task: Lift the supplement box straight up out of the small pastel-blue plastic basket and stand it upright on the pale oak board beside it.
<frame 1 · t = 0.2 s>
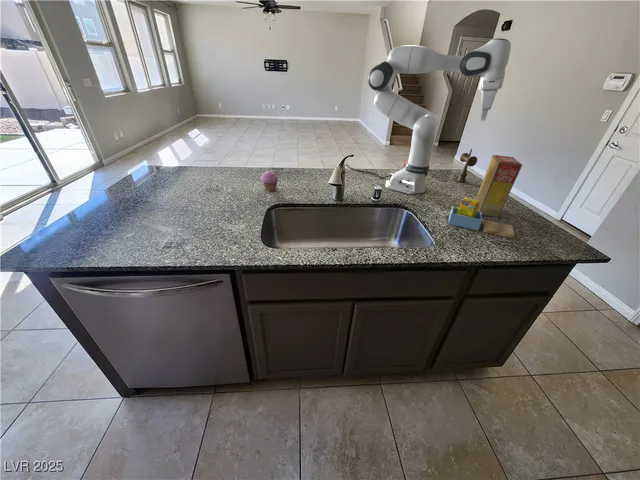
hand: (482, 119, 123), 39 cm above the worktop, tool pointing down, fingers open, 8 cm apart
food packaging: (485, 210, 131), on the worktop
cupcake: (270, 190, 143), on the worktop
basket: (463, 222, 119), on the worktop
oak board: (497, 230, 114), on the worktop
supplement box: (462, 223, 119), resting in basket
kendama: (460, 181, 166), on the worktop
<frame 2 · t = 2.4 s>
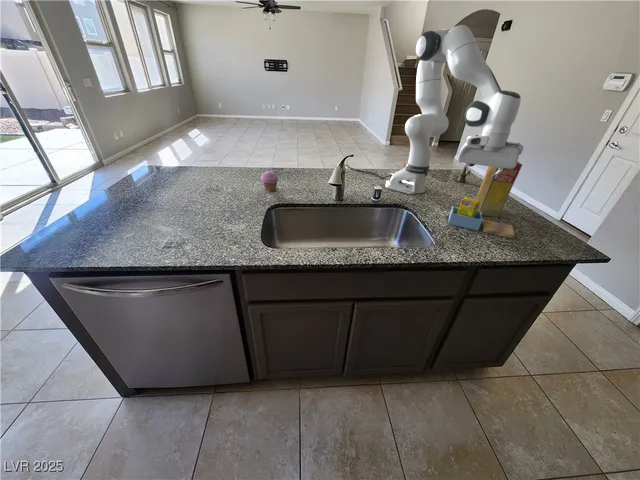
hand: (480, 176, 108), 21 cm above the worktop, tool pointing down, fingers open, 8 cm apart
nothing on the worktop moved.
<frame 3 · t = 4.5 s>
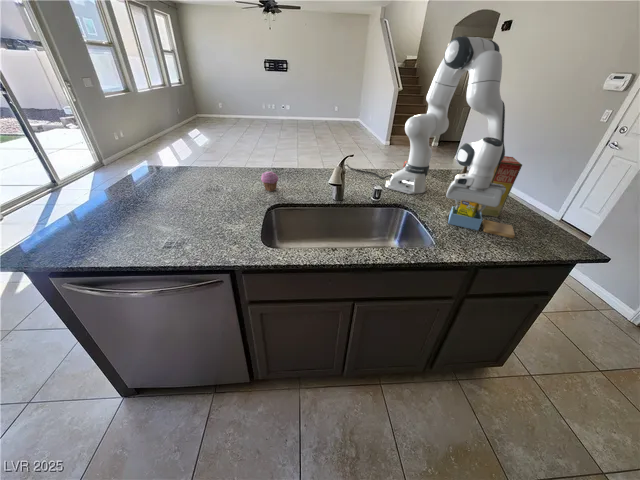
hand: (467, 211, 116), 6 cm above the worktop, tool pointing down, fingers closed on supplement box, 7 cm apart
supplement box: (462, 223, 119), resting in basket, touching gripper
everything else where it was.
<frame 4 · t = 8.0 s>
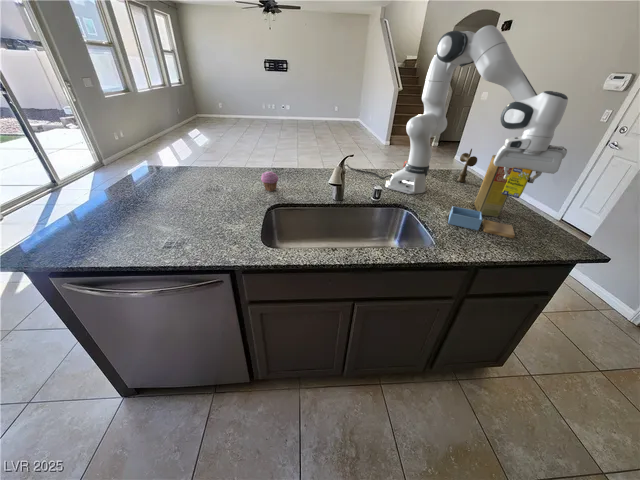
hand: (517, 180, 103), 22 cm above the worktop, tool pointing down, fingers closed on supplement box, 7 cm apart
supplement box: (511, 195, 106), point 16 cm above the worktop, touching gripper
everything else where it was.
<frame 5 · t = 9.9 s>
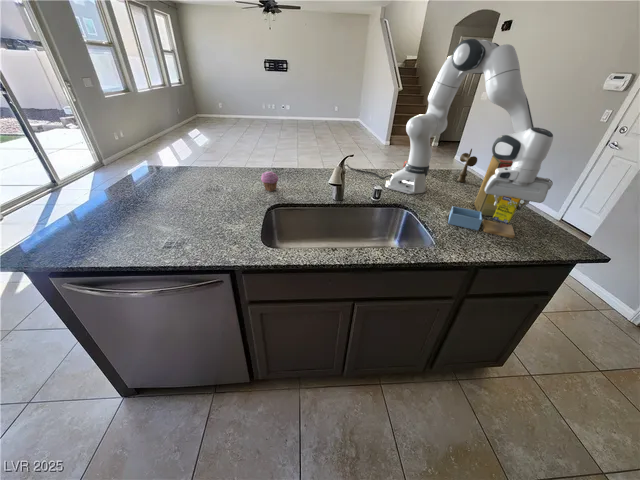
hand: (507, 207, 109), 11 cm above the worktop, tool pointing down, fingers closed on supplement box, 7 cm apart
supplement box: (501, 220, 112), point 5 cm above the worktop, touching gripper
everything else where it was.
when the fingers open (8 cm above the worktop, at t = 11.7 s): supplement box stays where it is, resting on oak board.
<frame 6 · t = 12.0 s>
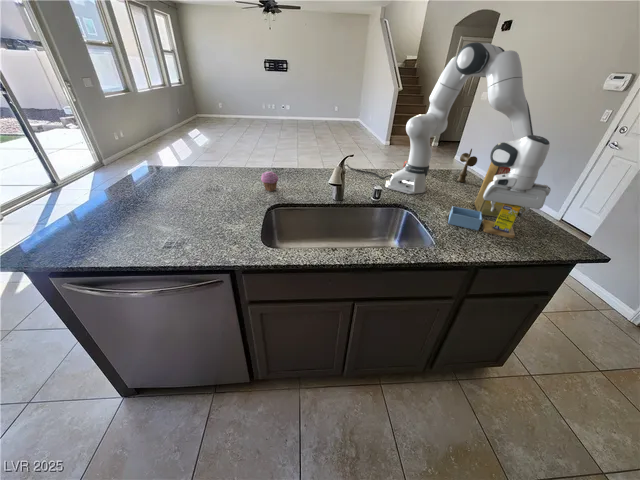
hand: (505, 213, 110), 8 cm above the worktop, tool pointing down, fingers open, 8 cm apart
food packaging: (485, 210, 131), on the worktop, touching arm
supplement box: (501, 228, 113), point 1 cm above the worktop, touching gripper, oak board
everything else where it was.
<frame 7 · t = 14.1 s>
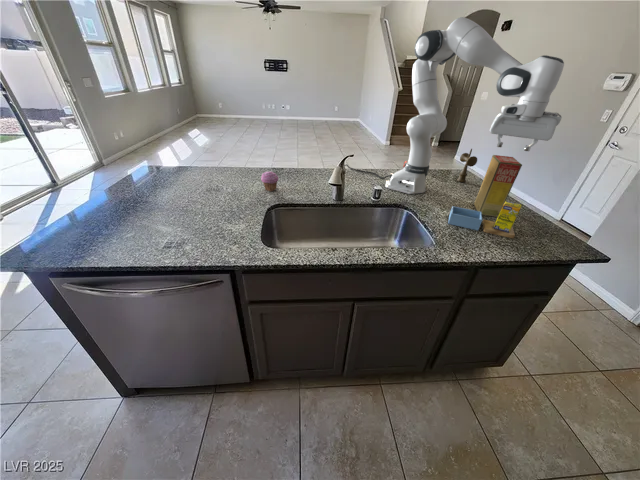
hand: (512, 148, 104), 32 cm above the worktop, tool pointing down, fingers open, 8 cm apart
food packaging: (485, 210, 131), on the worktop
supplement box: (501, 228, 113), point 1 cm above the worktop, touching oak board
everything else where it was.
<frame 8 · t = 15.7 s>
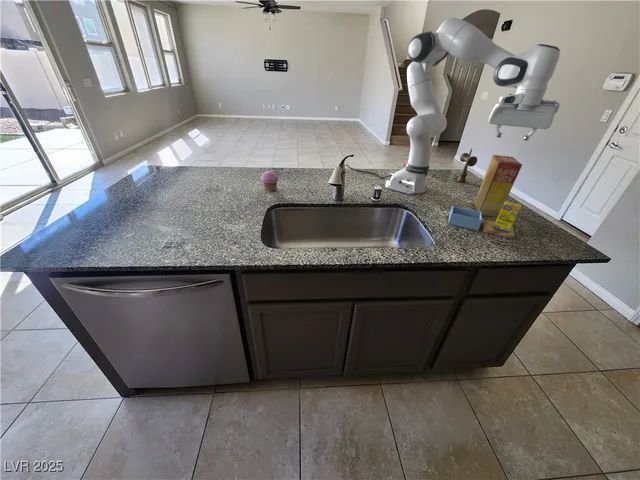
hand: (511, 138, 105), 35 cm above the worktop, tool pointing down, fingers open, 8 cm apart
nothing on the worktop moved.
at the end: supplement box inside the target area on the oak board (1.3 cm from its centre), point 1.3 cm above the oak board's base; supplement box tilted 0°; the gripper is holding nothing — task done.
